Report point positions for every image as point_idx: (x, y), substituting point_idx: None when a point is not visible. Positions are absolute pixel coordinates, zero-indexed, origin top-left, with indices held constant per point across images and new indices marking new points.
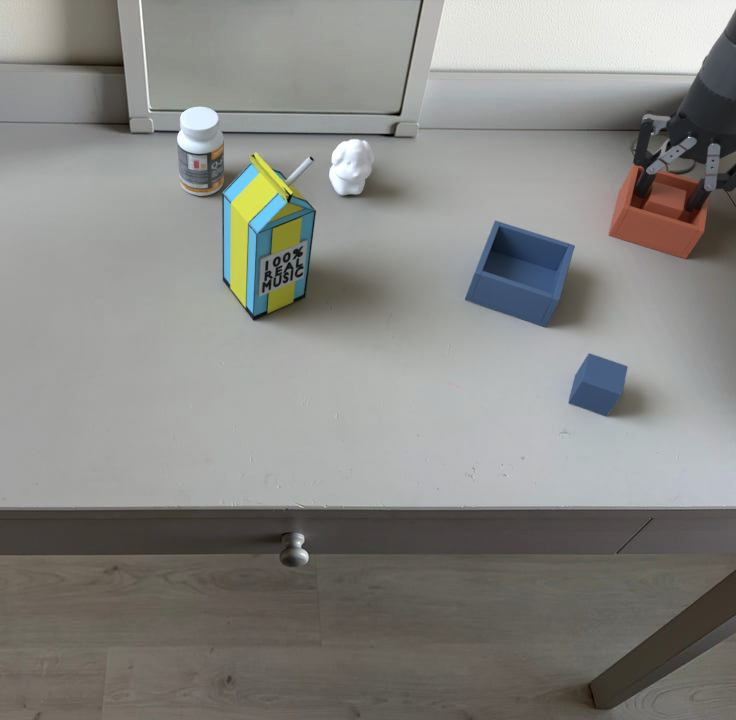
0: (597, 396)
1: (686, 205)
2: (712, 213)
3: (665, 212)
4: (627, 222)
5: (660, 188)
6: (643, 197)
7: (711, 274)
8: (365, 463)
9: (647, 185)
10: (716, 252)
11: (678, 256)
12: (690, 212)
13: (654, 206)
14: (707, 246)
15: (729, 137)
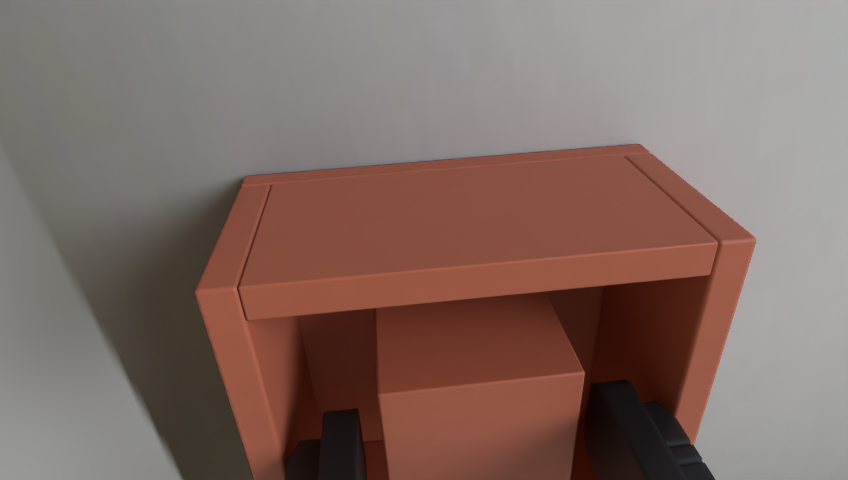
0: None
1: (363, 444)
2: (240, 473)
3: (457, 351)
4: (638, 195)
5: (528, 478)
6: (602, 387)
7: (86, 133)
8: None
9: (656, 458)
10: (135, 293)
11: (284, 173)
12: (329, 411)
13: (534, 356)
14: (187, 308)
15: None
